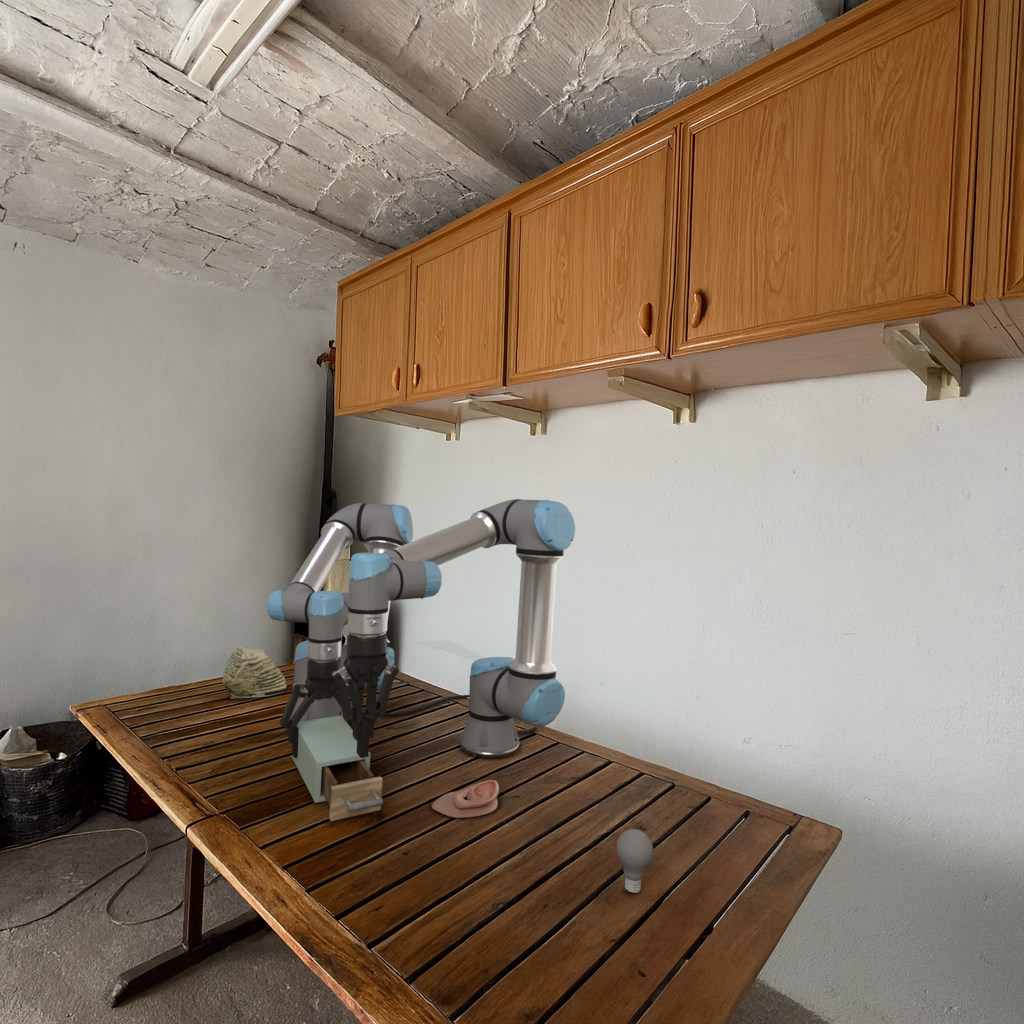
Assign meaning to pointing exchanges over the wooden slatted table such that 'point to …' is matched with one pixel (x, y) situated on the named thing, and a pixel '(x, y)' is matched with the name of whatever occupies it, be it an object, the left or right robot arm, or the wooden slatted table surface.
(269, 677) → the fossil
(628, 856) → the light bulb
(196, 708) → the wooden slatted table surface
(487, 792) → the anatomical model
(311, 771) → the cabinet
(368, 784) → the drawer
